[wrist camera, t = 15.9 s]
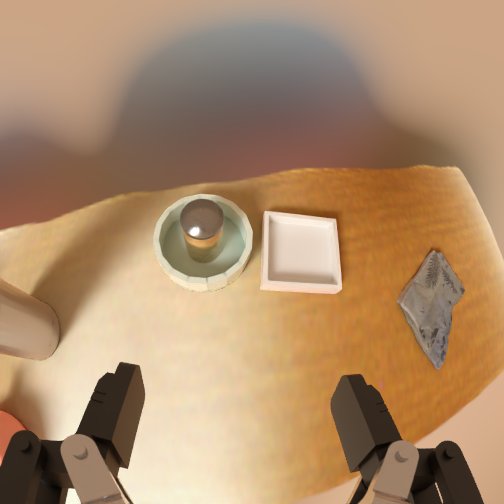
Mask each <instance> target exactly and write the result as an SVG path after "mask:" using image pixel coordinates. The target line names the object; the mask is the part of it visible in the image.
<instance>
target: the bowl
mask: <svg viewBox="0 0 504 504" xmlns="http://www.w3.org/2000/svg"><path fill="white" fill-rule="evenodd" d="M196 199H209V200H212V201H214V202H215V203H217V204H218V205H219V206H220V207H221V209H222V211H223V215H224V221H223V231H222V248H221V253H220V255H219V256H218V257H217V258H216V259H215V260H214V261H212V262H209V263H198V262H196V261H194V260H193V259H191V258H190V256H189V255H188V252H187V248H186V244H185V239H184V235H183V230H182V227H181V223H180V214H181V211H182V209H183V208H184V207H185V206H186V205H187V204H188V203H189V202H191V201H193V200H196ZM252 235H253V230H252V228H251V225H250V223H249V221H248V218H247V216H246V214H245V213H244V212H243V211H242V210H241V209H240V208H239V207H238V206H237V205H236V204H235V203H234V202H232V201H230V200H227V199H225V198H223V197H221V196H218V195H210V194H196V195H192V196H188V197H184V198H181V199H180V200H178V201H177V202H175V203H174V204H172V205H171V206H169V207H168V208H166V210H165V211H164V213H163V214H162V216H161V217H160V218H159V220H158V221H157V223H156V227H155V232H154V237H153V244H154V248H155V252H156V257H157V259H158V261H159V263H160V265H161V267H162V269H163V270H164V271H165V272H166V274H167V275H168V276H169V278H170V279H171V280H172V281H173V282H175V283H176V284H178V285H179V286H181V287H183V288H185V289H188V290H191V291H196V292H210V291H215V290H219V289H221V288H224V287H226V286H227V285H229V284H231V283H232V282H233V281H235V280H236V279H237V278H238V277H239V275H241V273H242V271H243V270H244V268H245V266H246V263H247V262H248V260H249V257H250V253H251V250H252Z"/></svg>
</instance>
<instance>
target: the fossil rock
mask: <svg viewBox="0 0 504 504" xmlns="http://www.w3.org/2000/svg"><path fill="white" fill-rule="evenodd" d="M464 291H465V290H464V287H463V285H462V283H461V282H460V280H459V279H458V277H457V276H456V274H455V273H454V272H453V270H452V268H451V267H450V265H449V264H448V262H447V261H446V259H445V258H444V256H443V254H442V252H438V253H436V251H435V250H433V251H432V252H431V253H429V254H428V256H427V257H426V258H425V259H424V261H423V263H422V265H421V267H420V269H419V270H418V272H417V273H416V275H415V276H414V277H413V278H412V279H411V280H410V281H409V283H408V284H407V285H406V287H405V288H404V290H403V291H402V293H401V294H400V296H399V297H398V299H397V303H398V304H399V306H400V307H401V309H402V311H403V313H404V315H405V317H406V320H407V322H408V323H409V324H410V326H411V327H412V329H413V332H414V333H415V336H416V339H417V341H418V343H419V344H420V346H421V347H422V349H423V351H424V352H425V354H426V355H427V357H428V358H429V359H430V361H431V362H432V363H433V365H434V367H435V368H436V369H440V367H441V365H442V364H443V362H444V360H445V356H446V352H447V347H448V335H449V333H450V329H451V324H452V315H451V310H452V308H453V306H454V305H455V304H457V302H459V300H460V299H461V297H462V296H463V294H464Z"/></svg>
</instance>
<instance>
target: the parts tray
mask: <svg viewBox="0 0 504 504" xmlns="http://www.w3.org/2000/svg"><path fill="white" fill-rule="evenodd" d="M341 289H342V281H341V267H340V255H339V244H338V234H337V224H336V219H331V218H323V217H315V216H307V215H298V214H289V213H280V212H271V211H265V212H264V215H263V219H262V247H261V280H260V290H273V291H289V292H307V293H328V294H336V293H337V292H339V291H340V290H341Z"/></svg>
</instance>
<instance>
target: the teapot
mask: <svg viewBox="0 0 504 504" xmlns="http://www.w3.org/2000/svg"><path fill="white" fill-rule="evenodd" d="M21 430H26V429H25V428H24V427H23V425H22V424H21V423H20V422H19V421H18V420H17V419H16V418H14V417H13V416H12V415H10V414H8V413H6V412H4V411H1V410H0V466H1V463H2V460H3V457H4V455H5V452H6V449H7V447H8V444H9V442H10V439H11V437H12V436H13V435H14V434H15V433H16V432H18V431H21Z"/></svg>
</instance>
